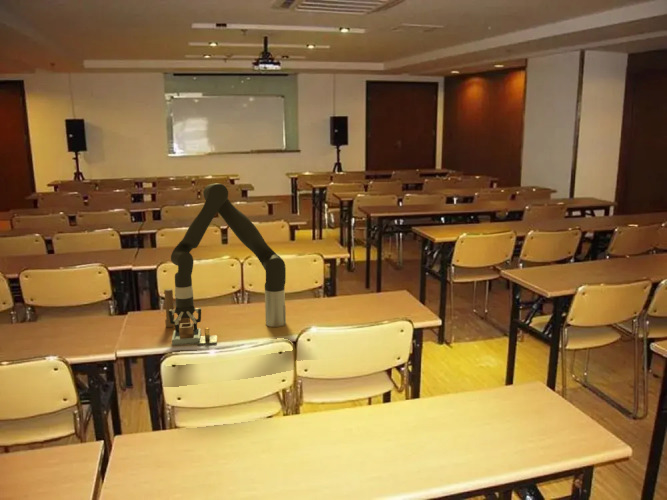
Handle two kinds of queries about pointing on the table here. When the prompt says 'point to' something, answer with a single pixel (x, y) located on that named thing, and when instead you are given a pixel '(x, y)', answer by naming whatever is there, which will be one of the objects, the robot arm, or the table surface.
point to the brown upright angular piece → (169, 306)
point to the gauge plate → (205, 342)
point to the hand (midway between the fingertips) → (186, 331)
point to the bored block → (186, 330)
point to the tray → (185, 341)
